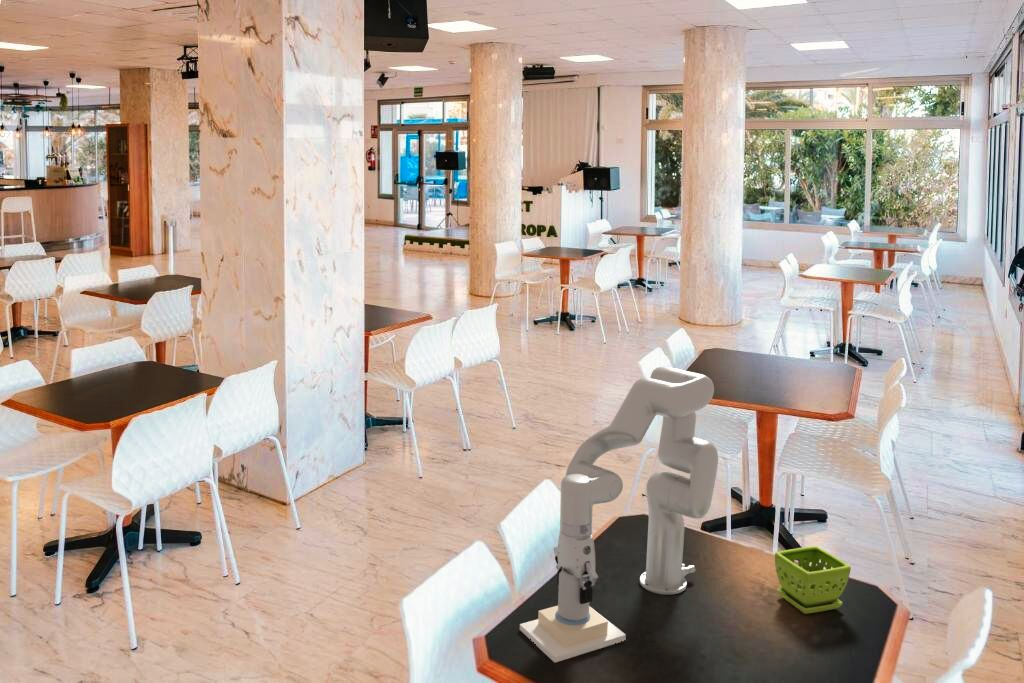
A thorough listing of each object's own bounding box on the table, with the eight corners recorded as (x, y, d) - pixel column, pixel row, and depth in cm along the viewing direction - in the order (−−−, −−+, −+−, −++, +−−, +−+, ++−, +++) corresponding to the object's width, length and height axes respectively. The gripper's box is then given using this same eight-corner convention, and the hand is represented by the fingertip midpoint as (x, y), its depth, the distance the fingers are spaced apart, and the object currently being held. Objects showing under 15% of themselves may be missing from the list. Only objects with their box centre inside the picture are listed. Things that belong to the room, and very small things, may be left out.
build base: (587, 610, 223) (588, 591, 221) (625, 640, 209) (626, 620, 208) (519, 629, 213) (520, 610, 212) (554, 662, 199) (555, 642, 198)
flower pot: (848, 612, 224) (853, 566, 221) (803, 621, 219) (807, 574, 216) (812, 587, 237) (816, 543, 234) (769, 595, 232) (773, 550, 229)
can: (586, 625, 206) (588, 578, 203) (555, 621, 207) (556, 574, 204) (590, 609, 213) (592, 563, 210) (560, 605, 214) (561, 560, 212)
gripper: (610, 537, 200) (608, 605, 203) (569, 510, 214) (567, 574, 218) (583, 544, 196) (581, 613, 200) (543, 516, 211) (542, 581, 214)
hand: (574, 593), depth 209 cm, fingers open, 9 cm apart
